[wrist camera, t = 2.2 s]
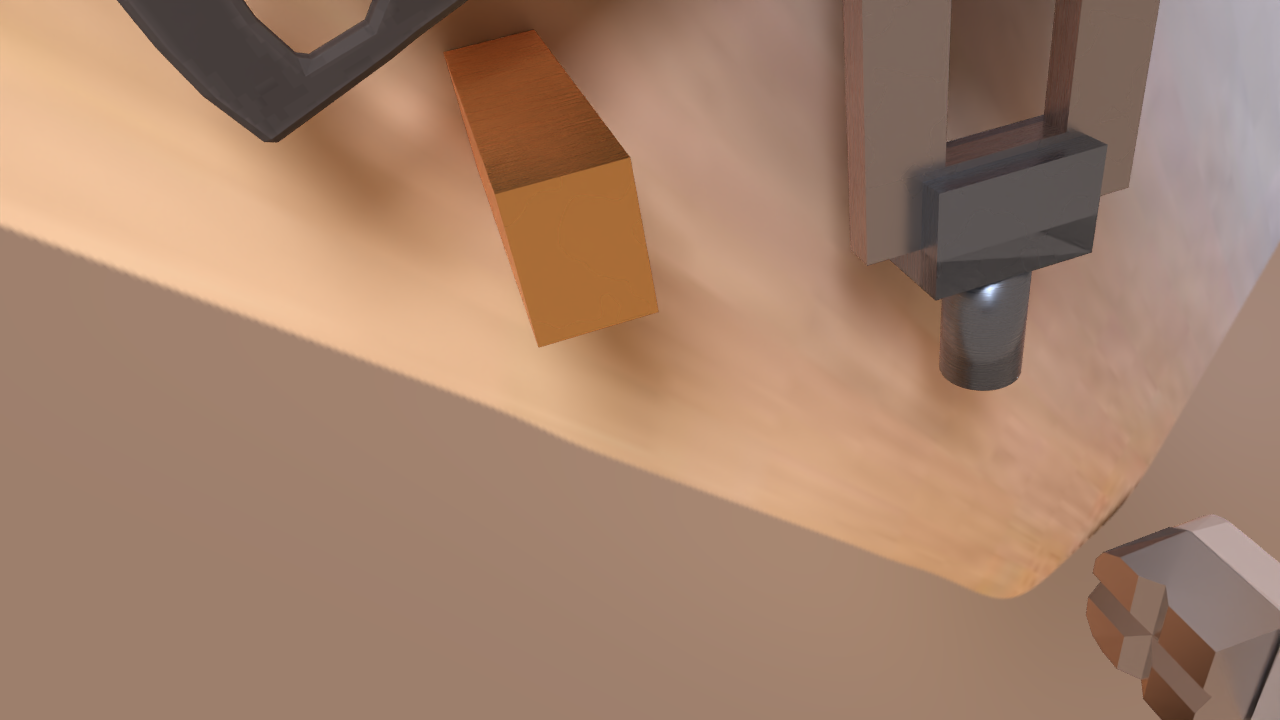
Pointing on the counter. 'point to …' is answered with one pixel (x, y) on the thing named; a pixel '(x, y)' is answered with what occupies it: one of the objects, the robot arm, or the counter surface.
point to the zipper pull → (276, 56)
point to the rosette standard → (986, 166)
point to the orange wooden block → (554, 188)
